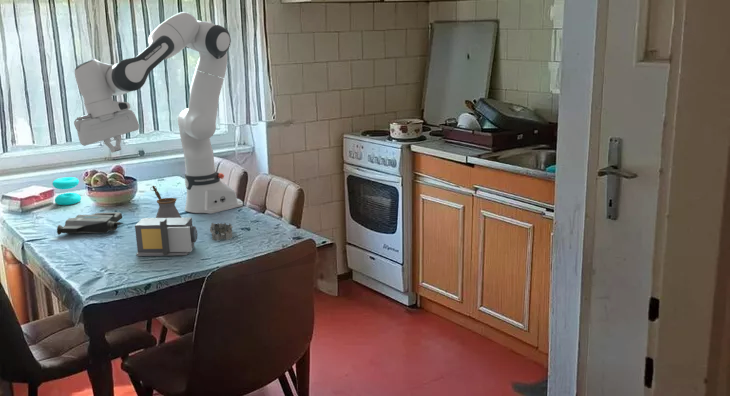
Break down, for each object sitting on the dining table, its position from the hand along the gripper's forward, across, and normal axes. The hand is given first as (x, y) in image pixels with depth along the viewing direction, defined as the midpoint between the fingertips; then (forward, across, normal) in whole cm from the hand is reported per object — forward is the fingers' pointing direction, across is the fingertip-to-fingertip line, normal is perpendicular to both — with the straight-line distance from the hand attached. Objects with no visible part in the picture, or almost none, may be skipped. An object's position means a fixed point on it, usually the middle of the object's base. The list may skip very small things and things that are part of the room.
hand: (116, 151), depth 231 cm
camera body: (+35, -2, -13) cm, 38 cm away
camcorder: (+25, -2, +29) cm, 38 cm away
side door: (+35, -3, -20) cm, 41 cm away
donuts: (+16, +11, +72) cm, 74 cm away
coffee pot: (+32, +10, +6) cm, 34 cm away
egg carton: (+38, +19, -13) cm, 45 cm away
